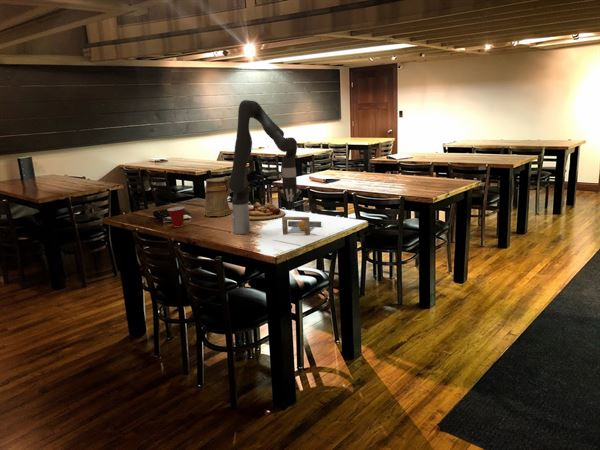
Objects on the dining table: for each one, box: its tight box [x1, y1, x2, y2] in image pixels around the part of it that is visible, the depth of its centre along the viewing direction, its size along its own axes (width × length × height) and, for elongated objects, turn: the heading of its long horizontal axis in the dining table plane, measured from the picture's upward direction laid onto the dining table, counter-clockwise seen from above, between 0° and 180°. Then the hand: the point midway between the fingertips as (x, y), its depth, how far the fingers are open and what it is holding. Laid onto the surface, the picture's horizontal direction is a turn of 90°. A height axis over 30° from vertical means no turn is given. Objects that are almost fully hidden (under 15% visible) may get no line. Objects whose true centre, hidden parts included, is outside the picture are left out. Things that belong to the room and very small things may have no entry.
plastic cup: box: [167, 206, 185, 227], centre depth 312 cm, size 11×11×12 cm
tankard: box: [203, 175, 232, 217], centre depth 342 cm, size 18×24×25 cm
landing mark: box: [288, 227, 315, 234], centre depth 289 cm, size 13×13×1 cm
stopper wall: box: [287, 220, 322, 228], centre depth 297 cm, size 20×2×3 cm, turn 74°
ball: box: [298, 220, 305, 230], centre depth 288 cm, size 6×6×6 cm
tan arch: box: [281, 216, 311, 236], centre depth 279 cm, size 3×15×10 cm, turn 74°
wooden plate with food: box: [249, 201, 286, 222], centre depth 332 cm, size 32×32×8 cm
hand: (290, 207), depth 269 cm, fingers closed
